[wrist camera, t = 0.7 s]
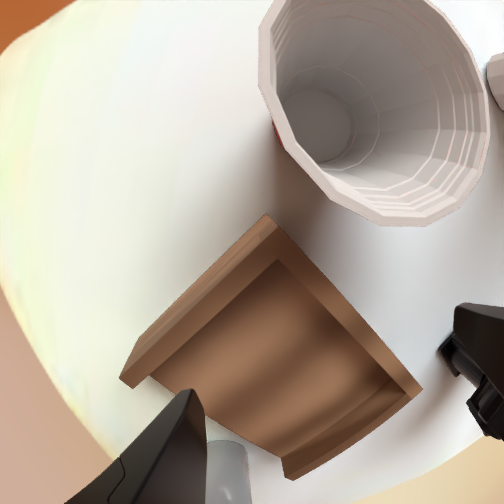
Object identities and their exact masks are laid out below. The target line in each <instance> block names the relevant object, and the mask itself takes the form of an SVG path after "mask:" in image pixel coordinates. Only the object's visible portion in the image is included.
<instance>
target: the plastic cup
mask: <svg viewBox="0 0 504 504" xmlns="http://www.w3.org/2000/svg"><path fill="white" fill-rule="evenodd" d="M258 86H259V89H260V91H261V93H262V95H263V98H264V100H265V102H266V105H267V107H268V109H269V112H270V114H271V116H272V123H273V126H274V130H275V132H276V135H277V137H278V139H279V142H280V144H281V146H282V147H283V148H284V149H285V150H286V151H287V152H288V153H289V154H290V155H291V156H292V157H293V158H294V159H295V160H296V162H297V163H298V164H299V165H300V166H301V167H302V168H303V169H304V170H305V171H306V173H307V174H308V175H309V176H310V177H311V178H312V179H313V180H314V182H315V183H316V184H317V185H318V186H319V187H320V188H321V190H322V191H323V192H324V193H325V194H326V195H327V197H328V198H329V199H330V200H331V201H333V202H335V203H337V204H339V205H341V206H343V207H345V208H347V209H349V210H351V211H353V212H355V213H357V214H359V215H361V216H363V217H365V218H367V219H368V220H370V221H372V222H374V223H376V224H378V225H380V226H414V227H426V226H427V225H429V224H431V223H433V222H435V221H437V220H439V219H440V218H442V217H444V216H446V215H448V214H449V213H451V212H453V211H455V210H457V209H458V208H460V206H461V205H462V203H463V202H464V201H465V199H466V198H467V196H468V195H469V194H470V192H471V191H472V189H473V188H474V186H475V185H476V183H477V182H478V180H479V179H480V177H481V175H482V171H483V167H484V163H485V159H486V155H487V151H488V146H489V142H490V137H491V135H490V118H489V106H488V97H487V91H486V88H485V85H484V82H483V80H482V77H481V74H480V71H479V69H478V66H477V64H476V61H475V59H474V56H473V54H472V51H471V50H470V48H469V47H468V45H467V44H466V42H465V41H464V39H463V38H462V36H461V35H460V34H459V32H458V31H457V29H456V28H455V27H454V25H453V24H452V23H451V21H450V20H449V19H448V18H447V16H446V15H445V14H444V13H443V12H442V11H441V10H440V9H439V8H437V7H436V6H435V5H434V4H433V3H431V2H430V1H429V0H274V2H273V3H272V5H271V7H270V8H269V10H268V12H267V13H266V15H265V17H264V19H263V20H262V22H261V24H260V26H259V61H258Z"/></svg>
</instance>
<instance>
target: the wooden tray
mask: <svg viewBox="0 0 504 504" xmlns="http://www.w3.org/2000/svg"><path fill="white" fill-rule="evenodd" d="M148 375H150V376H151V377H152V378H154V379H155V380H156V381H158V382H159V383H160V384H162V385H163V386H164V387H166V388H167V389H169V390H170V391H171V392H173V393H174V394H175V395H177V394H178V393H179V392H180V391H181V390H184V389H190V388H192V389H194V390H195V391H196V393H197V395H198V397H199V399H200V402H201V404H202V406H203V408H204V413H205V415H206V416H208V417H210V418H211V419H213V420H214V421H216V422H218V423H219V424H221V425H222V426H224V427H226V428H227V429H229V430H231V431H232V432H234V433H236V434H237V435H239V436H241V437H243V438H244V439H246V440H248V441H250V442H252V443H253V444H255V445H257V446H259V447H261V448H263V449H265V450H266V451H268V452H270V453H272V454H274V455H276V456H278V457H280V458H281V461H282V466H283V471H284V476H285V478H287V479H290V480H292V481H294V480H296V479H298V478H300V477H301V476H303V475H305V474H307V473H309V472H310V471H312V470H314V469H316V468H317V467H319V466H321V465H322V464H324V463H326V462H327V461H329V460H331V459H332V458H334V457H335V456H337V455H338V454H340V453H342V452H343V451H345V450H346V449H348V448H349V447H351V446H352V445H354V444H355V443H357V442H358V441H359V440H361V439H362V438H364V437H365V436H366V435H368V434H369V433H371V432H372V431H373V430H375V429H376V428H377V427H379V426H380V425H381V424H383V423H384V422H385V421H386V420H388V419H389V418H390V417H392V416H393V415H394V414H395V413H396V412H398V411H399V410H400V409H401V408H403V407H404V406H405V405H406V404H407V403H408V402H410V401H411V400H412V399H413V398H414V397H415V396H416V395H418V394H419V393H420V392H421V391H422V390H423V388H422V387H421V386H420V385H419V384H418V382H417V381H416V380H415V379H414V378H413V376H412V375H411V374H410V373H409V372H408V370H407V369H406V368H405V367H404V366H403V364H402V363H401V362H400V361H399V360H398V358H397V357H396V356H395V355H394V354H393V353H392V351H391V350H390V349H389V348H388V347H387V345H386V344H385V343H384V342H383V341H382V340H381V338H380V337H379V336H378V335H377V334H376V333H375V332H374V330H373V329H372V328H371V327H370V326H369V325H368V324H367V322H366V321H365V320H364V319H363V318H362V317H361V316H360V314H359V313H358V312H357V311H356V310H355V309H354V308H353V306H352V305H351V304H350V303H349V302H348V301H347V300H346V299H345V297H344V296H343V295H342V294H341V293H340V292H339V291H338V290H337V289H336V287H335V286H334V285H333V284H332V283H331V282H330V281H329V280H328V279H327V277H326V276H325V275H324V274H323V273H322V272H321V271H320V270H319V269H318V268H317V267H316V265H315V264H314V263H313V262H312V261H311V260H310V259H309V258H308V257H307V256H306V255H305V253H304V252H303V251H302V250H301V249H300V248H299V247H298V246H297V245H296V244H295V243H294V242H293V241H292V240H291V238H290V237H289V236H288V235H287V234H286V233H285V232H284V231H283V230H282V229H281V228H280V227H279V226H278V225H277V224H276V223H275V222H274V221H273V220H272V219H271V218H270V217H269V216H268V215H267V214H265V215H264V216H263V217H262V218H261V219H260V220H259V221H258V222H256V223H255V224H254V225H253V226H252V227H251V228H250V229H249V230H248V231H247V232H246V233H245V234H244V235H243V236H242V237H241V238H240V239H239V240H238V241H237V242H236V243H235V244H234V245H233V246H232V247H230V248H229V249H228V250H227V251H226V252H225V253H224V254H223V255H222V256H221V257H220V258H219V259H218V260H217V261H216V262H215V263H214V264H213V265H212V266H211V267H210V268H209V269H208V270H207V271H206V272H205V273H204V274H203V275H202V276H201V277H200V278H199V279H198V280H197V281H196V282H195V283H194V284H193V285H192V286H191V287H189V288H188V289H187V290H186V291H185V292H184V293H183V294H182V295H181V296H180V297H179V298H178V299H177V300H176V301H175V302H174V303H173V304H172V305H171V306H170V307H169V308H168V309H167V310H166V311H165V312H164V313H163V314H162V315H161V316H160V317H159V318H158V319H157V320H156V321H155V322H154V323H153V324H152V325H151V326H150V327H149V328H148V329H147V330H146V331H145V332H144V333H143V334H142V335H141V336H140V337H139V338H138V340H137V342H136V344H135V346H134V348H133V350H132V352H131V354H130V356H129V358H128V360H127V362H126V364H125V366H124V368H123V370H122V372H121V374H120V376H119V379H120V380H121V381H123V382H124V383H125V384H127V385H128V386H129V387H130V388H132V389H133V388H135V387H136V386H137V385H138V384H139V383H140V382H141V381H143V380H144V379H145V378H146V377H147V376H148Z"/></svg>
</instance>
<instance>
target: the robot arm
mask: <svg viewBox="0 0 504 504" xmlns="http://www.w3.org/2000/svg"><path fill="white" fill-rule="evenodd" d="M453 329H454V332H453V333H452V334H451V335H450V336H449V338H448V339H447V340H446V341H445V342H444V343H443V344H442V345H441V346H440V347H439V353H440V354H441V356H442V358H443V359H444V361H445V362H446V364H447V366H448V367H449V369H450V371H451V372H452V374H453V375H454V376H455V377H457V376H459V375H460V374H462V375H464V376H465V377H466V378H467V379H468V380H469V381H470V382H471V383H472V384H473V385H474V386H475V387H476V388H477V389H476V391H475V392H474V394H473V395H472V396H471V398H469V399H468V400H467V402H466V404H467V405H468V407H469V410H470V412H471V413H472V415H473V416H474V418H475V419H476V421H477V423H478V424H479V426H480V427H481V429H482V431H483V434H484V435H485V436H492V437H494V438H496V439H498V440H500V439H502V440H503V441H504V307H497V306H488V305H480V304H472V303H462V304H460V305H458V306H456V307H455V310H454V323H453ZM119 457H120V458H119ZM119 457H118V458H117V459H116V460H115V461H114V462H113V463H112V464H111V465H110V466H109V467H108V468H107V469H106V470H105V471H103V472H102V473H101V474H100V475H99V476H98V477H97V478H96V479H95V480H93V481H92V482H91V483H90V484H88V485H87V486H86V487H85V488H84V489H82V490H81V491H80V492H79V493H77V494H76V495H75V496H73V497H72V498H71V499H69V500H68V501H67V502H66V503H64V504H205V498H206V474H207V439H206V426H205V413H204V408H203V406H202V404H201V402H200V399H199V397H198V395H197V393H196V391H195V390H194V389H192V388H190V389H184V390H181V391H180V392H179V393H178V394H177V395H176V396H175V397H174V398H173V399H172V400H171V401H170V403H169V404H168V405H167V406H166V407H165V408H164V409H163V410H162V411H161V412H160V413H159V414H158V416H157V417H156V418H155V419H154V420H153V421H152V422H151V423H150V424H149V425H148V426H147V427H146V428H145V429H144V431H143V432H142V433H141V434H140V435H139V436H138V437H137V438H136V439H135V440H134V441H133V442H132V443H131V444H130V445H129V446H128V447H127V448H126V449H125V450H124V451H123V452H122V454H121V455H120V456H119Z"/></svg>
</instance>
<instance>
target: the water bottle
mask: <svg viewBox="0 0 504 504" xmlns="http://www.w3.org/2000/svg"><path fill="white" fill-rule="evenodd" d="M487 80H488V83H489V86H490V89H491V92H492V95H493V96H494V98H495V100H496V102H497V103H498V105H499V107H500V108H501V109H502V110H503V111H504V52H503V53H500V54H497V55H494V56H492V57H491V59H490V60H489V62H488V64H487Z"/></svg>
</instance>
